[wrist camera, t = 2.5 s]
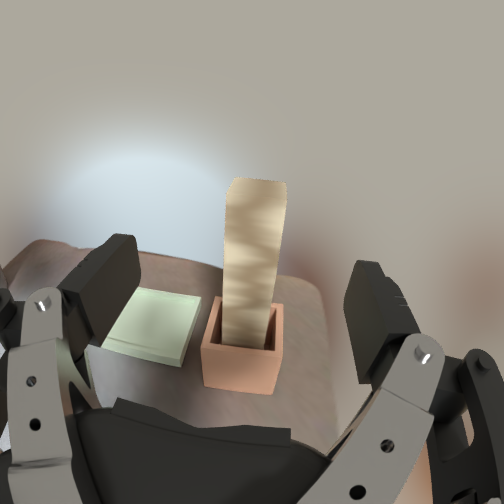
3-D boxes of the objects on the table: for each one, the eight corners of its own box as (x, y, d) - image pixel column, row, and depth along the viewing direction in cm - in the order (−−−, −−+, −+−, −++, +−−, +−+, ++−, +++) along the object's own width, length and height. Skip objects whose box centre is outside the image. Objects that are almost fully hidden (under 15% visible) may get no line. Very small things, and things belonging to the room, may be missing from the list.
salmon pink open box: (204, 386, 27) (200, 347, 24) (215, 337, 34) (215, 296, 30) (271, 395, 27) (282, 357, 24) (274, 345, 34) (283, 304, 30)
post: (221, 372, 28) (226, 193, 18) (227, 346, 32) (235, 177, 22) (258, 377, 28) (287, 199, 18) (260, 350, 32) (285, 182, 21)
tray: (82, 341, 30) (78, 333, 29) (115, 290, 39) (113, 282, 38) (180, 367, 29) (179, 359, 28) (201, 305, 39) (201, 297, 38)
